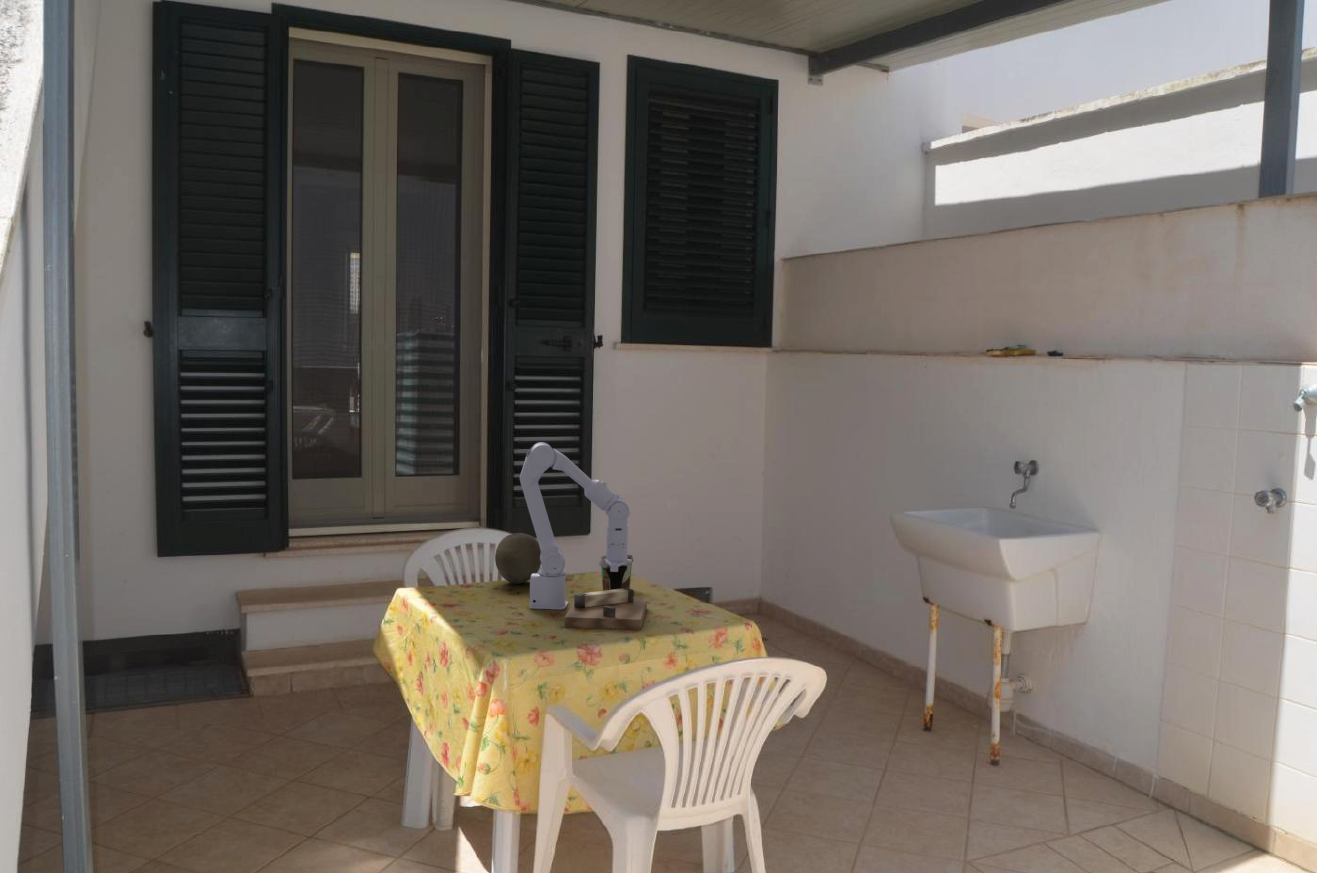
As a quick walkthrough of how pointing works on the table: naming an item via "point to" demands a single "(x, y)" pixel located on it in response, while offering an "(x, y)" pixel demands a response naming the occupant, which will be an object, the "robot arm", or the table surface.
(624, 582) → the food container
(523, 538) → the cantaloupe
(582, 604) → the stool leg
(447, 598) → the table surface
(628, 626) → the stool seat
